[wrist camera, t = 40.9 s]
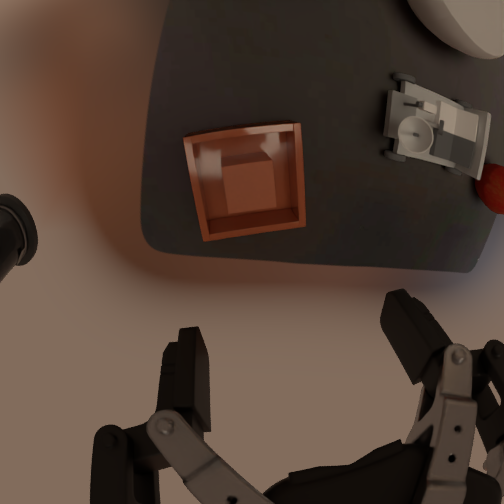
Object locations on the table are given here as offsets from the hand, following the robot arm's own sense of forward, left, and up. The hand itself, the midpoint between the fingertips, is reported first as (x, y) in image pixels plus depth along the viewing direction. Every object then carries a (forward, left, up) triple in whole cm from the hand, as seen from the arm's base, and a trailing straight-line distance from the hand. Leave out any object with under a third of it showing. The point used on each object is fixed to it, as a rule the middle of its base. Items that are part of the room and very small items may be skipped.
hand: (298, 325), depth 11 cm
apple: (+42, -3, -24) cm, 49 cm away
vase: (+30, +26, -24) cm, 47 cm away
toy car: (+25, +6, -24) cm, 35 cm away
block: (0, 0, -24) cm, 24 cm away
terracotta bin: (0, 0, -24) cm, 24 cm away
